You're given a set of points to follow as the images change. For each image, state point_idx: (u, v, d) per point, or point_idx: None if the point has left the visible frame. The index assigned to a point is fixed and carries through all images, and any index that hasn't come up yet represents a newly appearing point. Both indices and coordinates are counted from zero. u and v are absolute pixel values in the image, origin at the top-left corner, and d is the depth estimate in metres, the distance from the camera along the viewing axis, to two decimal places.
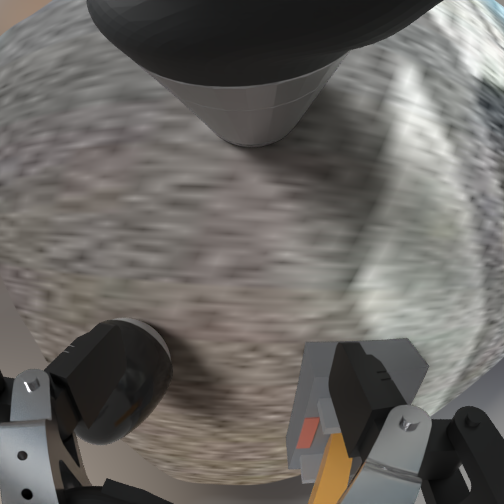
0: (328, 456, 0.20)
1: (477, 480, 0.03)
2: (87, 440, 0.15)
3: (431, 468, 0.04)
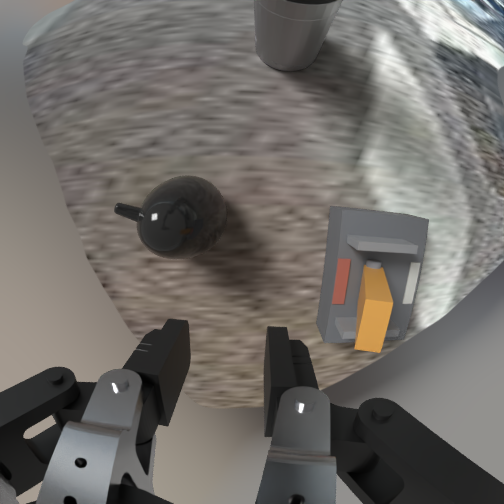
0: (365, 275, 0.28)
1: (408, 473, 0.04)
2: (160, 234, 0.24)
3: (336, 458, 0.05)
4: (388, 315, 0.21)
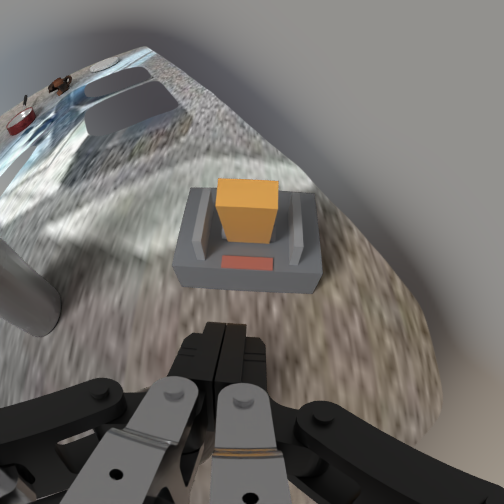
0: (224, 229, 0.29)
1: (363, 476, 0.04)
2: None
3: None
4: (232, 180, 0.23)
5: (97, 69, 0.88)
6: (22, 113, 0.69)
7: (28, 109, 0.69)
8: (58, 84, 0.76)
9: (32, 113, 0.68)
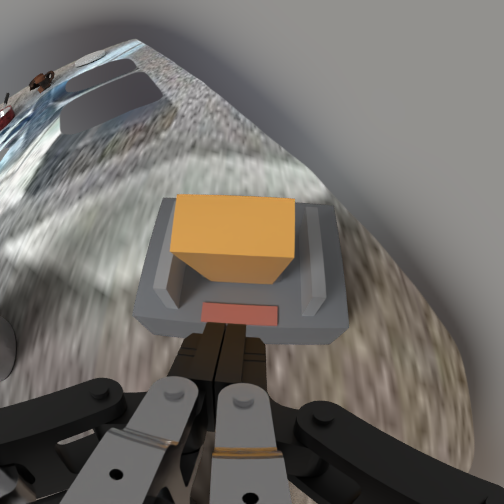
0: (200, 272, 0.18)
1: (363, 476, 0.04)
2: None
3: None
4: (203, 198, 0.11)
5: (82, 63, 0.76)
6: (1, 112, 0.57)
7: (7, 108, 0.58)
8: (39, 80, 0.64)
9: (10, 112, 0.56)
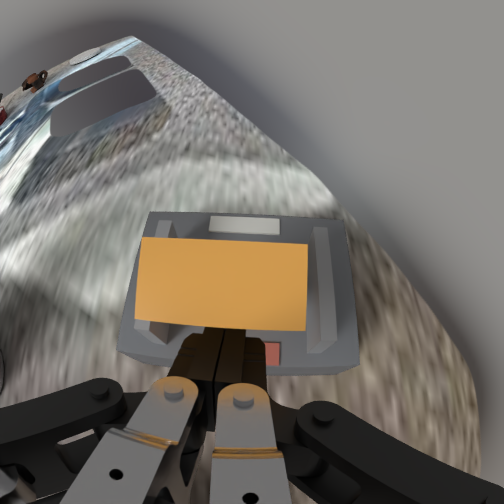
0: None
1: (363, 476, 0.04)
2: None
3: None
4: (178, 243, 0.08)
5: (76, 61, 0.72)
6: None
7: (0, 109, 0.54)
8: (32, 80, 0.60)
9: (2, 113, 0.53)
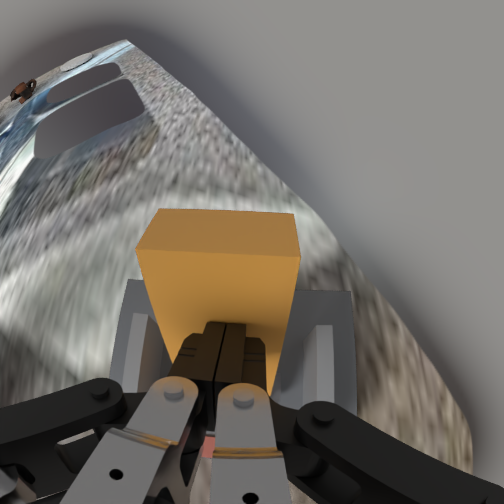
0: None
1: (363, 476, 0.04)
2: None
3: None
4: (188, 211, 0.10)
5: (67, 68, 0.68)
6: None
7: None
8: (20, 90, 0.56)
9: None
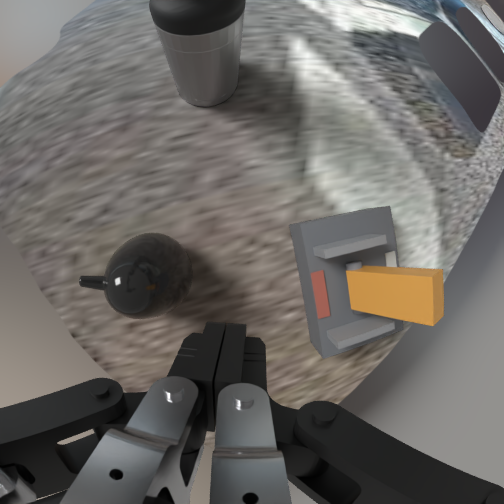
0: (377, 272, 0.28)
1: (363, 476, 0.04)
2: (126, 297, 0.23)
3: None
4: (442, 281, 0.22)
5: (486, 13, 0.37)
6: None
7: None
8: None
9: None
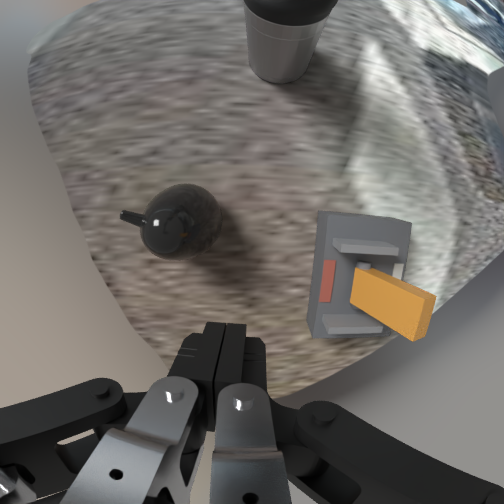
0: (380, 278, 0.31)
1: (363, 476, 0.04)
2: (161, 238, 0.27)
3: None
4: (433, 306, 0.25)
5: None
6: None
7: None
8: None
9: None
